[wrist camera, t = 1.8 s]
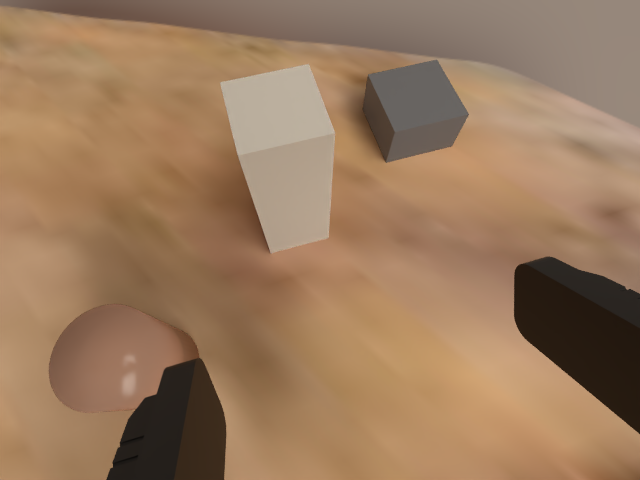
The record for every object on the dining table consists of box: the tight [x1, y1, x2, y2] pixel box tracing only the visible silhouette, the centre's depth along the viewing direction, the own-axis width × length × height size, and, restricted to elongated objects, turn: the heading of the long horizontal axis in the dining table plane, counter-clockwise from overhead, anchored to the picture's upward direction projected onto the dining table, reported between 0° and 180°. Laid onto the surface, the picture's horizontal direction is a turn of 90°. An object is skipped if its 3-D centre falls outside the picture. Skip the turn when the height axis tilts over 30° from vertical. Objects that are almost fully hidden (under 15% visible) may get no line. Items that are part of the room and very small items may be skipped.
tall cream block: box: [220, 64, 335, 253], centre depth 23 cm, size 4×4×12 cm
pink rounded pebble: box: [49, 304, 199, 413], centre depth 21 cm, size 5×5×7 cm
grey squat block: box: [363, 60, 469, 163], centre depth 30 cm, size 6×6×4 cm
